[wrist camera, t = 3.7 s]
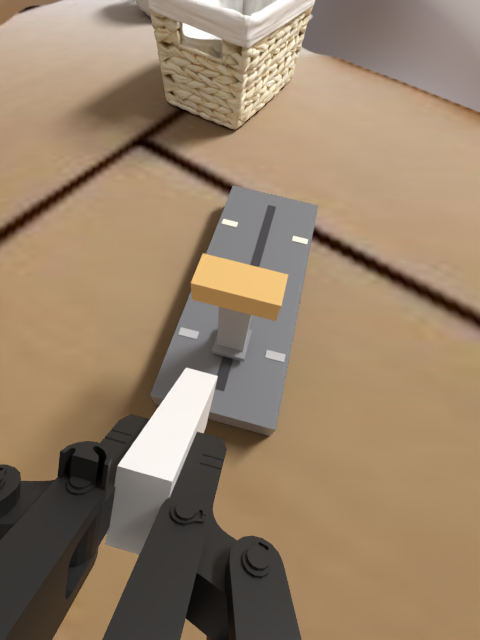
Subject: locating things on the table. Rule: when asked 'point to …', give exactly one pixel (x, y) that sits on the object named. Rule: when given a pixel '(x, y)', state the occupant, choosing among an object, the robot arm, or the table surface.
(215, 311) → the fader console
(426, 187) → the table surface
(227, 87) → the storage basket
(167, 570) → the robot arm
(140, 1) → the teacup
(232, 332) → the fader knob
